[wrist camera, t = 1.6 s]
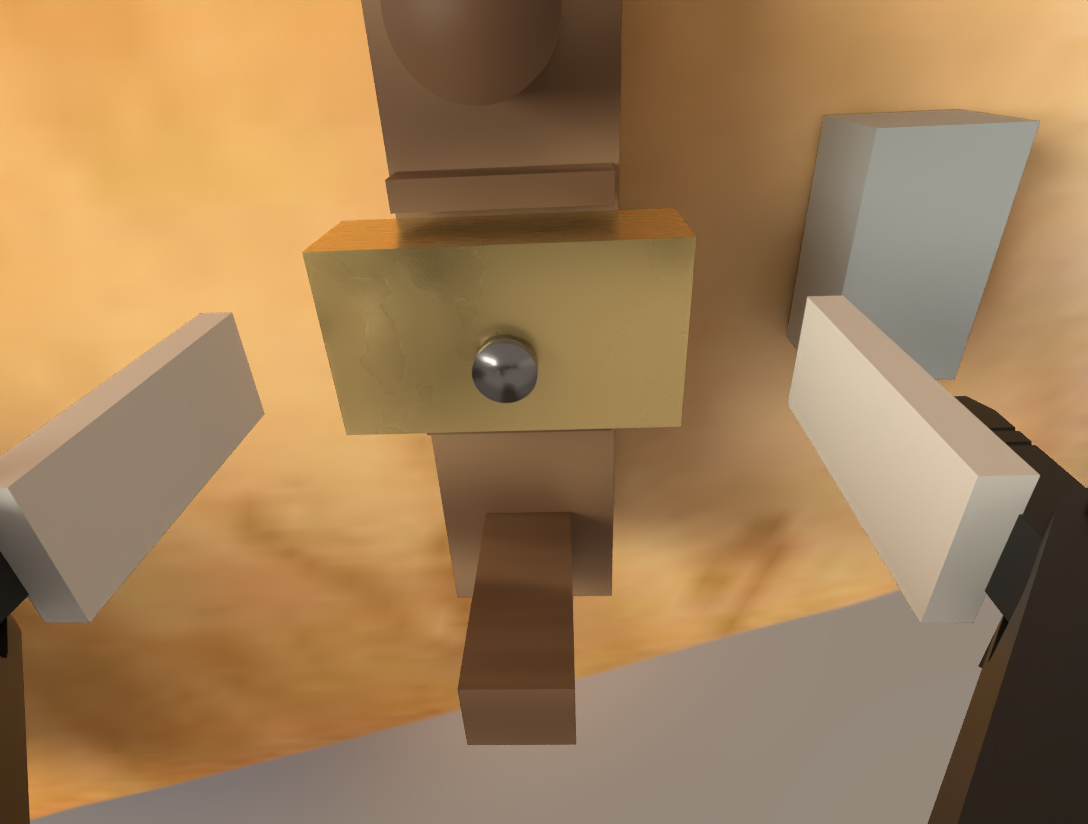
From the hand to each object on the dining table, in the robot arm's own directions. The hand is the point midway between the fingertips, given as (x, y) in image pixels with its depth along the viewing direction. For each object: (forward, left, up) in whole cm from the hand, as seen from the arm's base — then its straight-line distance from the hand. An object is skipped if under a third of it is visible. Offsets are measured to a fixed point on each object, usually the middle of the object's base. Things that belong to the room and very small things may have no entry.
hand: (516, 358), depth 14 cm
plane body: (0, -1, -10) cm, 10 cm away
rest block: (+12, 0, -10) cm, 16 cm away
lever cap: (0, 0, -4) cm, 4 cm away
